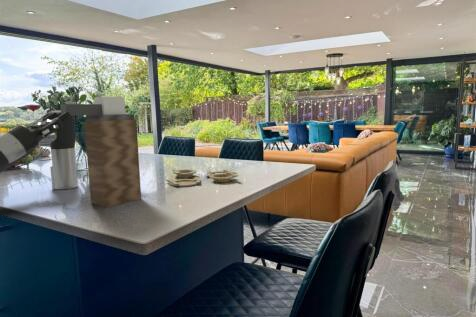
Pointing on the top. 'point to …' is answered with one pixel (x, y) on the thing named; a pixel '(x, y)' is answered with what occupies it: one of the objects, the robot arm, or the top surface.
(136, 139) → the wood-grain topped box
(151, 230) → the top surface
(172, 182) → the tableware set
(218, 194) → the top surface
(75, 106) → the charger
